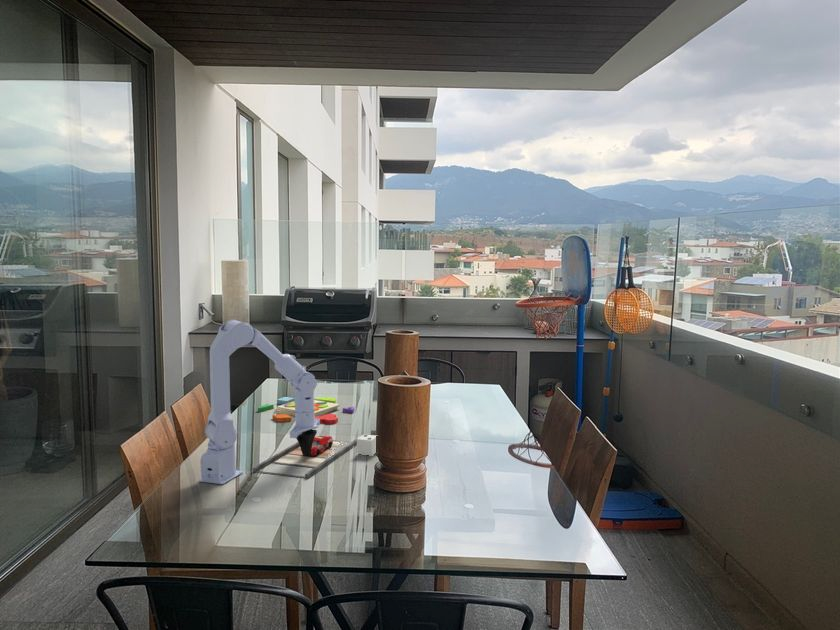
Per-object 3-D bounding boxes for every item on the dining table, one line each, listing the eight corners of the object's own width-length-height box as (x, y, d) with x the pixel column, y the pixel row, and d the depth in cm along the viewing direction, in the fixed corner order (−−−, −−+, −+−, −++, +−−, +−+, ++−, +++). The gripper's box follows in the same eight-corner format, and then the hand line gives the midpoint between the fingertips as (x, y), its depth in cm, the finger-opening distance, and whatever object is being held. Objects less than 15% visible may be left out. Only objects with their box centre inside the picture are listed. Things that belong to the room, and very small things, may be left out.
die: (372, 456, 190) (371, 440, 189) (357, 454, 192) (356, 438, 191) (378, 451, 195) (378, 435, 194) (363, 449, 196) (363, 433, 196)
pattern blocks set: (240, 420, 235) (240, 412, 235) (286, 399, 267) (286, 392, 267) (332, 427, 224) (332, 419, 223) (368, 404, 255) (368, 397, 255)
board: (308, 478, 173) (308, 474, 172) (252, 471, 179) (252, 467, 178) (359, 443, 203) (358, 439, 203) (310, 438, 209) (310, 434, 209)
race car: (314, 458, 189) (314, 445, 189) (299, 456, 191) (298, 443, 191) (336, 445, 201) (335, 433, 201) (321, 443, 203) (320, 431, 203)
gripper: (304, 417, 180) (306, 463, 181) (328, 405, 193) (329, 448, 195) (282, 416, 182) (284, 461, 183) (307, 404, 196) (309, 446, 197)
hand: (306, 454), depth 189 cm, fingers closed
